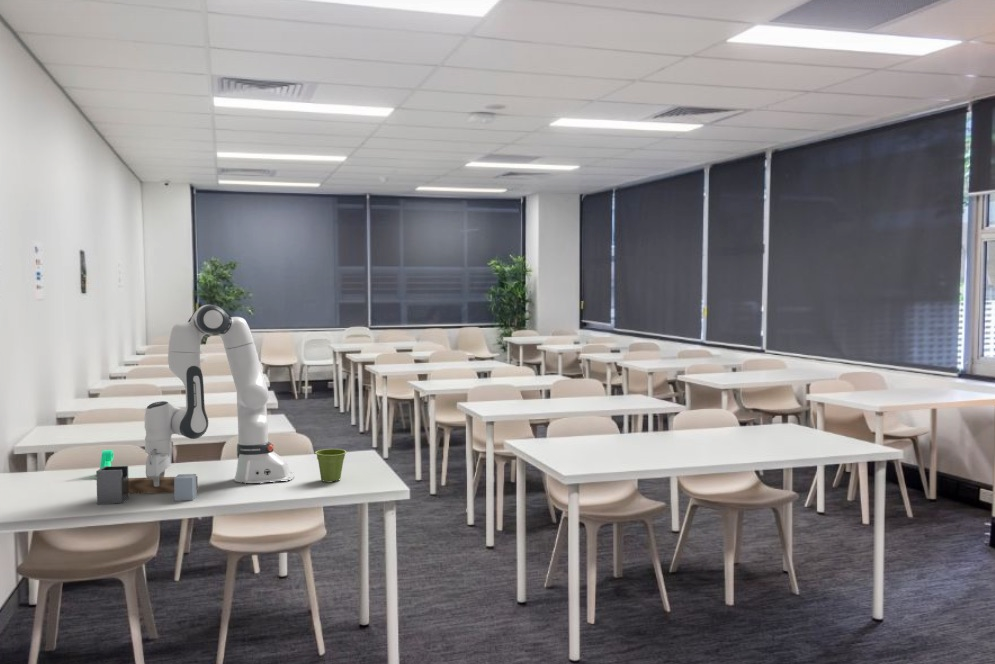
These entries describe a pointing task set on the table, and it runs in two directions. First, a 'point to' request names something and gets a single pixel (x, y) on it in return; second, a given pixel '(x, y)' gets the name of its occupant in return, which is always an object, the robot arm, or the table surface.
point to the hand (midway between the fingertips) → (158, 484)
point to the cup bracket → (112, 484)
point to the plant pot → (330, 463)
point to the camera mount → (106, 458)
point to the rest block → (185, 487)
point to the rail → (152, 485)
